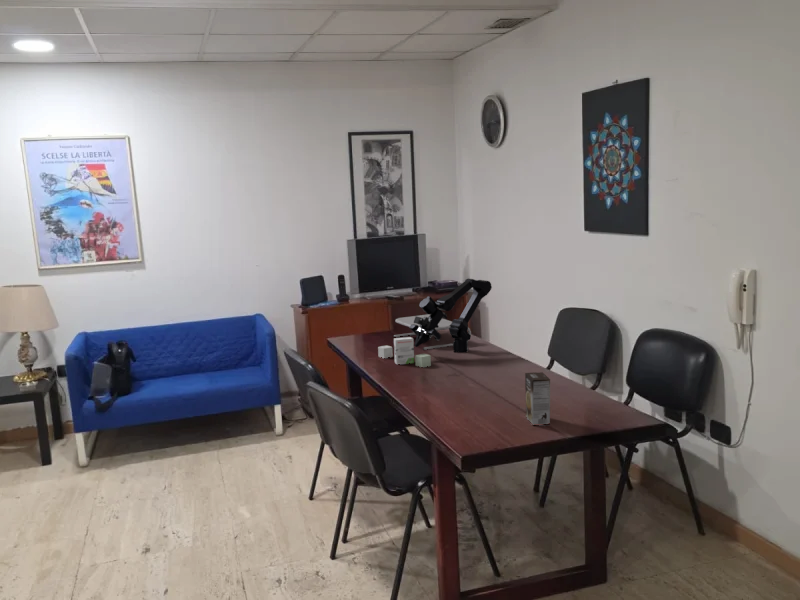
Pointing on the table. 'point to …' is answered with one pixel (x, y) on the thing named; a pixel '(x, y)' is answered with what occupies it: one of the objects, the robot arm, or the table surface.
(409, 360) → the ink box
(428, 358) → the sage block
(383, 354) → the grey block
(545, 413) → the coffee box
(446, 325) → the monitor stand
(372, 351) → the table surface
